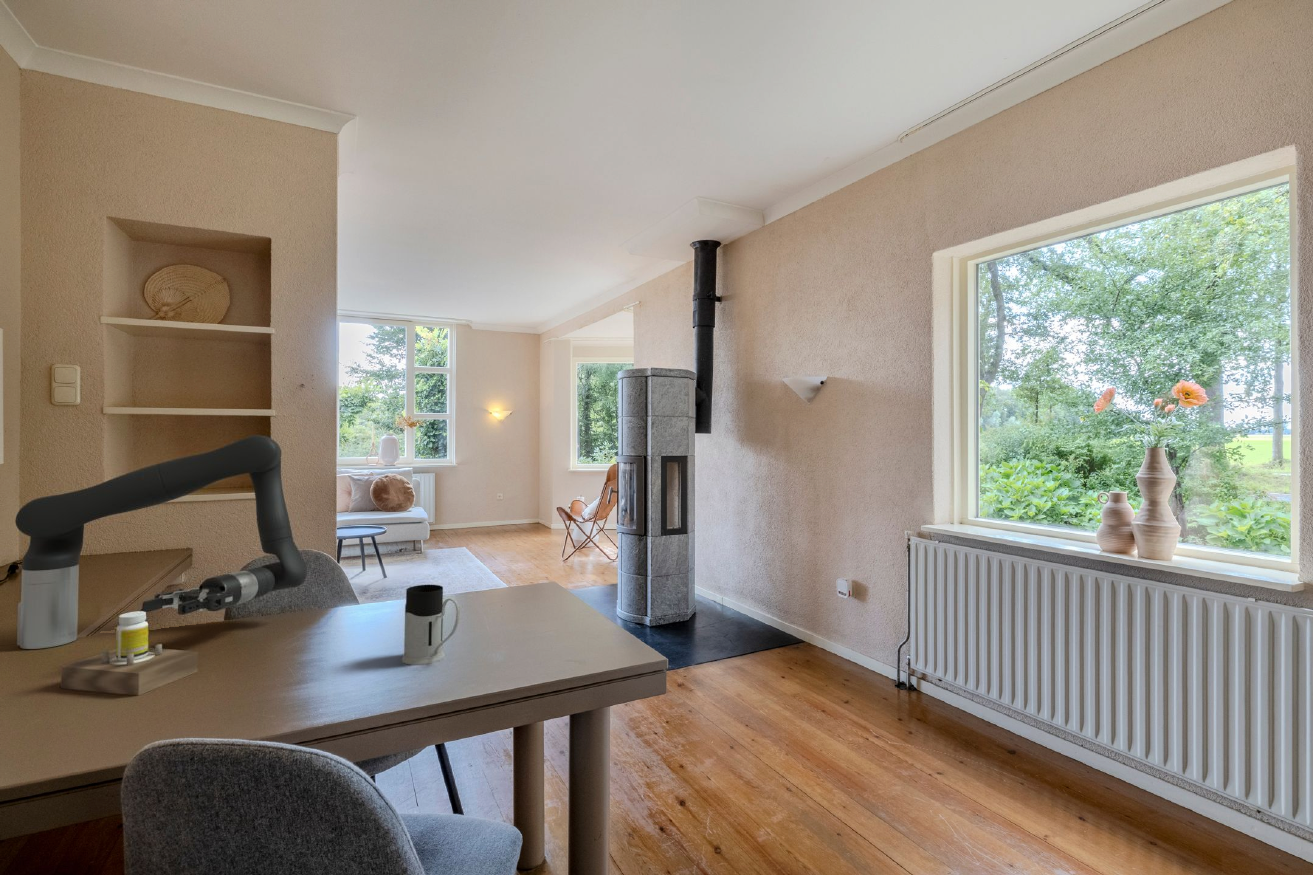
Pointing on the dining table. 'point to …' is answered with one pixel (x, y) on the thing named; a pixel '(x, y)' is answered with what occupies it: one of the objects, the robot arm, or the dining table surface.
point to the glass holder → (425, 624)
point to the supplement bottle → (132, 636)
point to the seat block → (129, 671)
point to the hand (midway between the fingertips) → (161, 608)
